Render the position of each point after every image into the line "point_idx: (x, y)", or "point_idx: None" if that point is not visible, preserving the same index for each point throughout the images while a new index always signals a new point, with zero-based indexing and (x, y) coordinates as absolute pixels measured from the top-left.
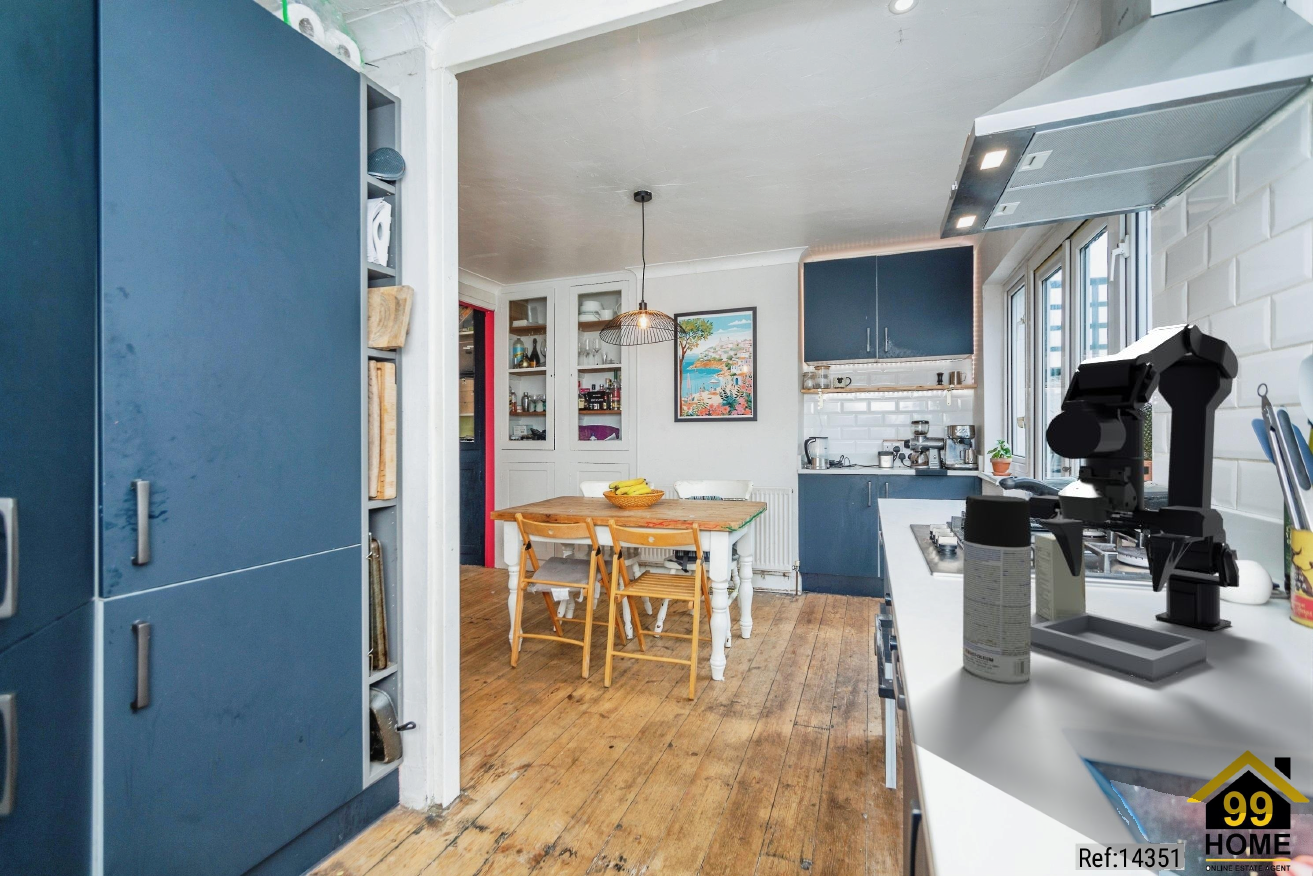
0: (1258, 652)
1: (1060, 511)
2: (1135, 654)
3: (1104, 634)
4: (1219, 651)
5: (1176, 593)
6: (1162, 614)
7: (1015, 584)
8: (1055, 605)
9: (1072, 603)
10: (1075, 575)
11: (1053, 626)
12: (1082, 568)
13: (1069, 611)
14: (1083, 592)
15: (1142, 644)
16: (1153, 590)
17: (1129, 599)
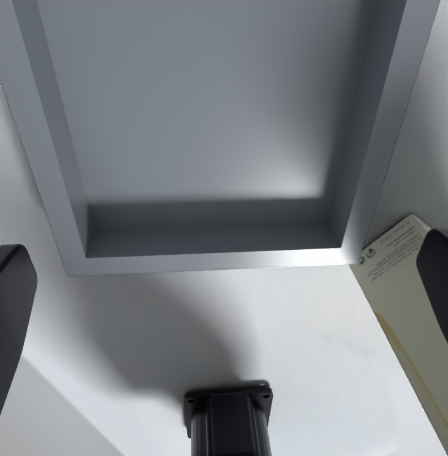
0: (90, 359)
1: None
2: None
3: (284, 212)
4: (118, 319)
5: (241, 451)
6: (266, 403)
7: None
8: None
9: (398, 283)
10: (432, 233)
11: (392, 34)
12: (430, 404)
13: (394, 261)
14: (388, 329)
15: (194, 215)
16: (18, 245)
17: (340, 436)
